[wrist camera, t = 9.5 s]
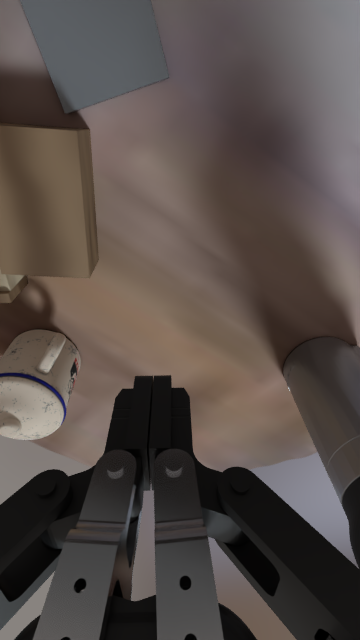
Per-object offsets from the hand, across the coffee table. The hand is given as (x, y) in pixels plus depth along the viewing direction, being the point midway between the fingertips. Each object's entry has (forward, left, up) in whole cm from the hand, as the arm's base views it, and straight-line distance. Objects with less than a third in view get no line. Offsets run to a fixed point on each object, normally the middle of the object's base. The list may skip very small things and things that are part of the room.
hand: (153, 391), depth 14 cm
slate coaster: (+4, -16, -23) cm, 28 cm away
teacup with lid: (+14, +14, -23) cm, 31 cm away
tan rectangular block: (+10, -3, -23) cm, 26 cm away
